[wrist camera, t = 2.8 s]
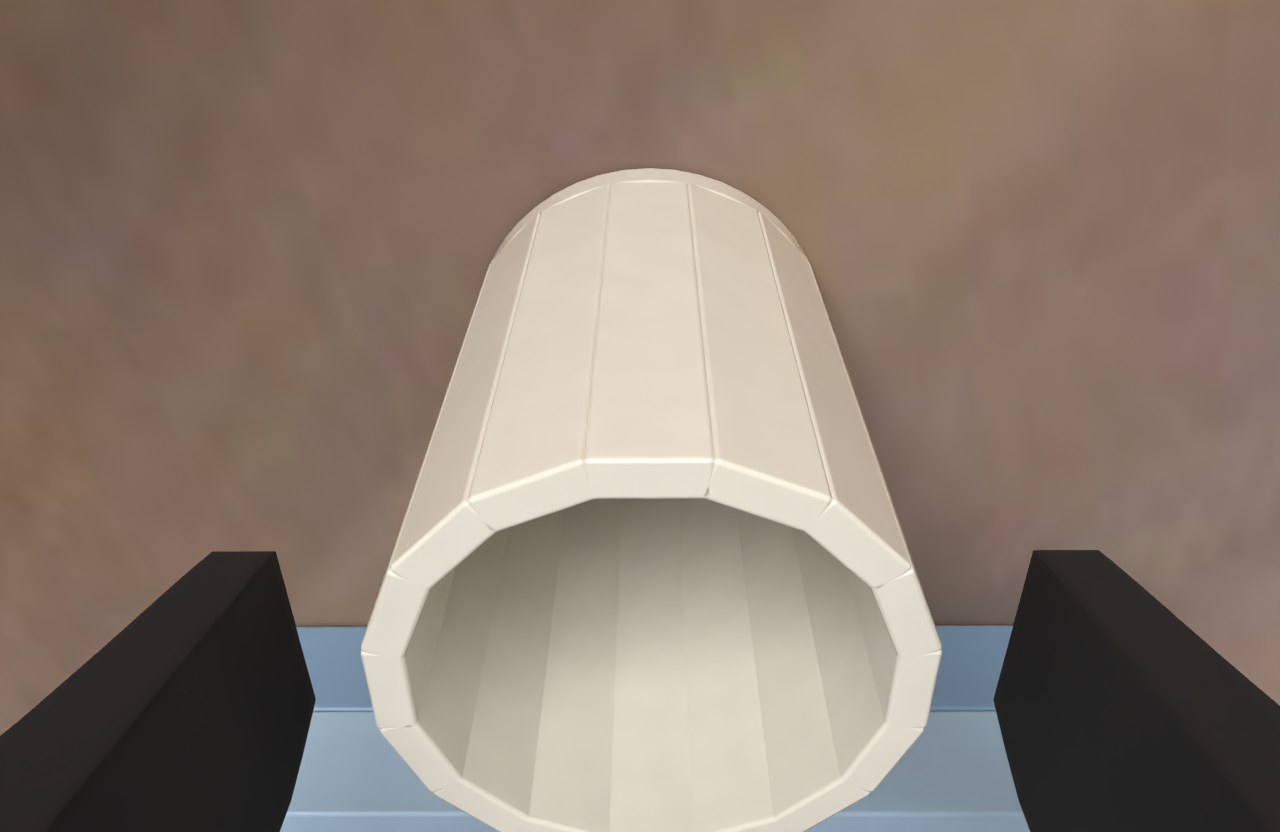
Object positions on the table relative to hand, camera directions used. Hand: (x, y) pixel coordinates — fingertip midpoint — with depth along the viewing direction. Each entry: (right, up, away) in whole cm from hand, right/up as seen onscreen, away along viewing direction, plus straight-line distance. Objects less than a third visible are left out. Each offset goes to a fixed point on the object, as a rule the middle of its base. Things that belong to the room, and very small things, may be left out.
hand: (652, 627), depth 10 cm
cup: (0, +3, +5) cm, 6 cm away
